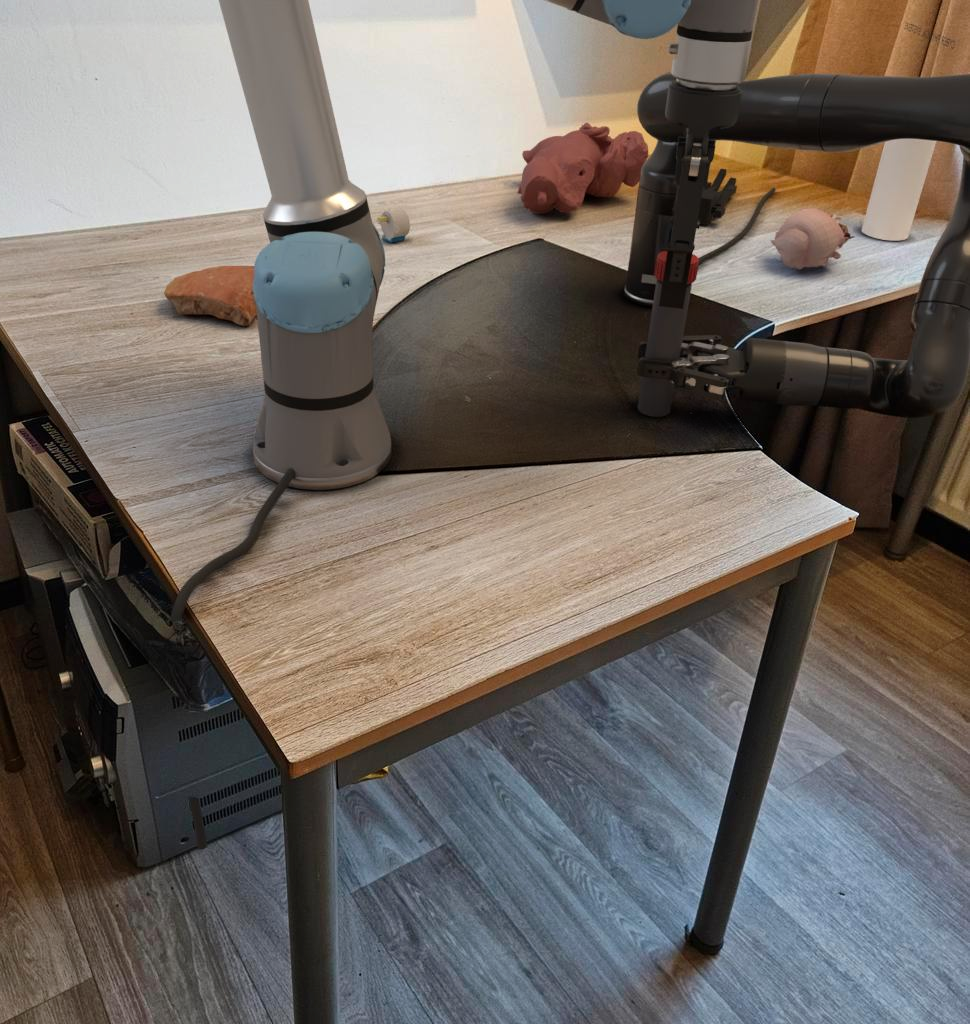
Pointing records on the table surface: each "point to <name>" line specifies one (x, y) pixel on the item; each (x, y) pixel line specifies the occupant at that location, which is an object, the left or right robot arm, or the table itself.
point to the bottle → (662, 353)
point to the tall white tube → (898, 184)
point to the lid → (661, 267)
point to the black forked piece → (715, 198)
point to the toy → (810, 238)
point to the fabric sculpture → (580, 168)
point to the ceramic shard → (216, 293)
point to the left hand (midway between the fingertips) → (672, 294)
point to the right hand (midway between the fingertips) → (639, 358)
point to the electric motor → (394, 225)
